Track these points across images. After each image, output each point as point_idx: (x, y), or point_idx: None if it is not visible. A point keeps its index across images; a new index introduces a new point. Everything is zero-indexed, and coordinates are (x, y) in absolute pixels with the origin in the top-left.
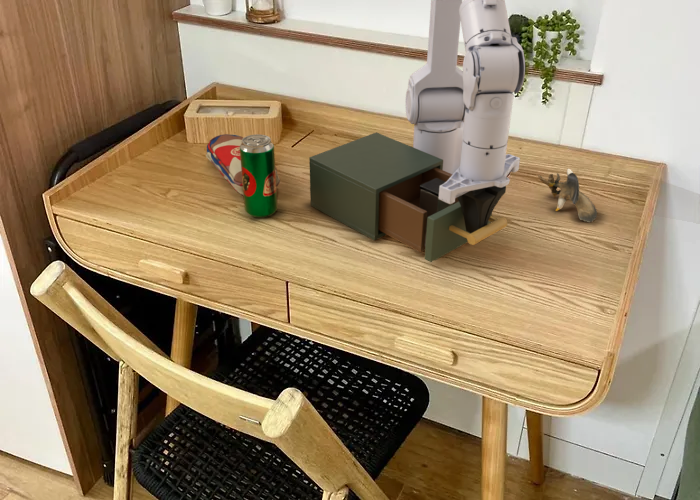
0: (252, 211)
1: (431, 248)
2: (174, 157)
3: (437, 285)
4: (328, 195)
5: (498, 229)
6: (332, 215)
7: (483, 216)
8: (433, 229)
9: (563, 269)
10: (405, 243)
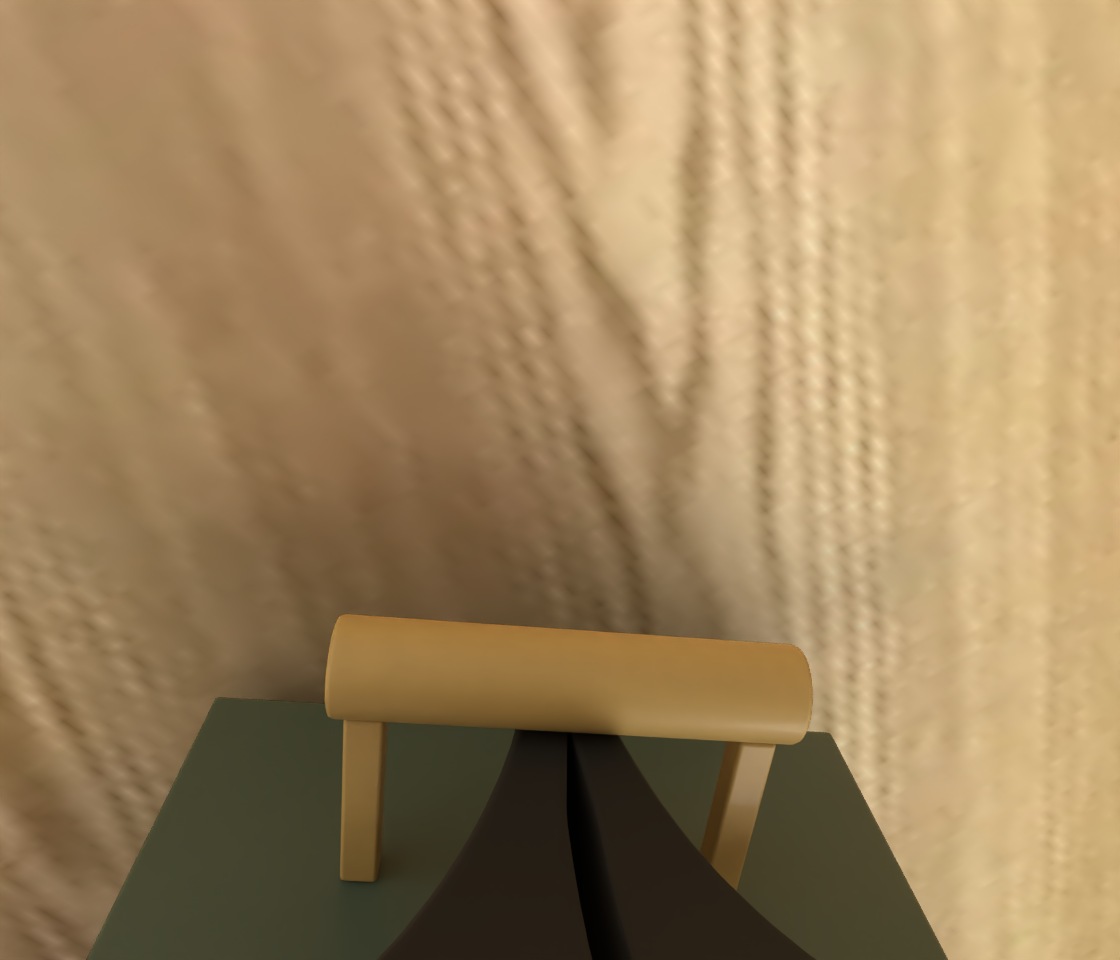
0: None
1: (870, 811)
2: None
3: (959, 586)
4: None
5: (478, 629)
6: None
7: (635, 822)
8: (939, 946)
9: (199, 9)
10: None
